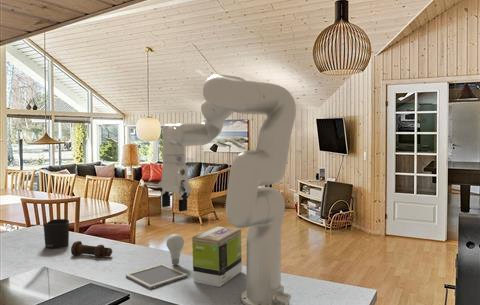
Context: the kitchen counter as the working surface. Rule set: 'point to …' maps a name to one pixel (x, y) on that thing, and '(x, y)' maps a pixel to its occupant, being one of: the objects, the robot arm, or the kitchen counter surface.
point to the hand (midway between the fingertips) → (174, 208)
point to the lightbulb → (175, 247)
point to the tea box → (216, 255)
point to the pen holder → (56, 233)
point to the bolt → (90, 250)
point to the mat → (156, 276)
